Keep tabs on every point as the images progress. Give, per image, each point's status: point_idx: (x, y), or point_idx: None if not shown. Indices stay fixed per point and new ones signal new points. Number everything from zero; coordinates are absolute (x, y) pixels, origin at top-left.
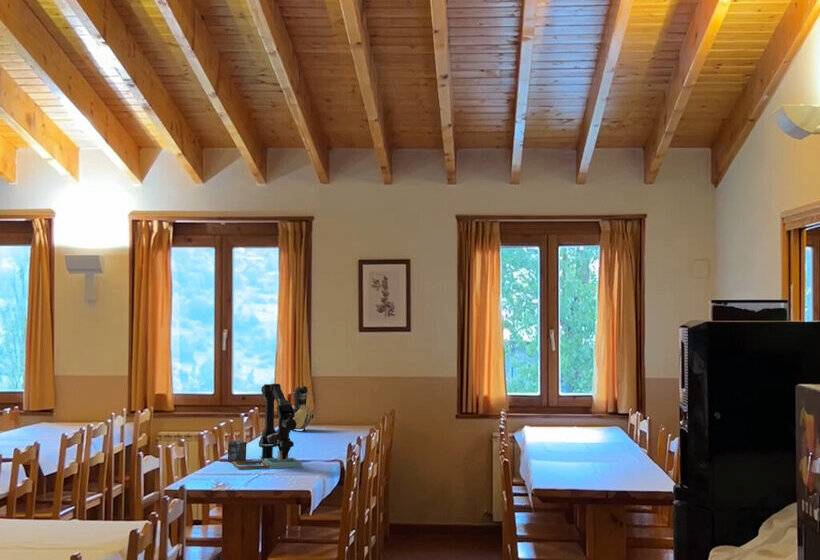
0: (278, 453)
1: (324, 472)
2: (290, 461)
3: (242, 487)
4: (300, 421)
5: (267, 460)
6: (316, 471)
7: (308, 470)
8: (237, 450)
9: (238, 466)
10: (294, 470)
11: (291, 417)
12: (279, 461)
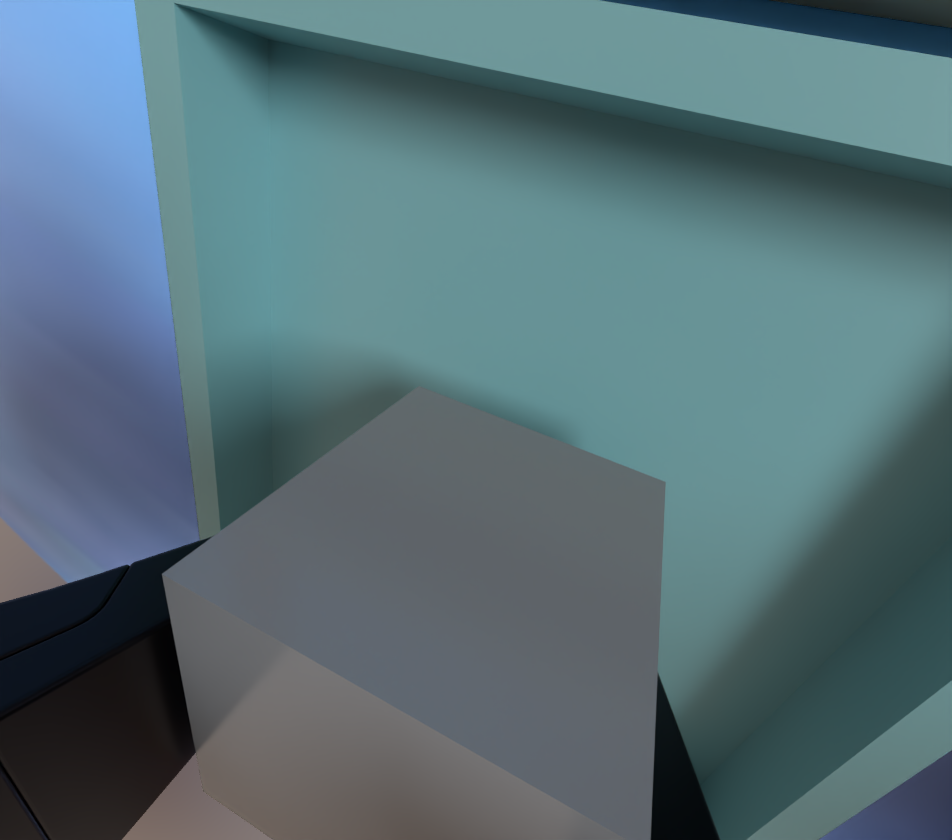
0: (470, 607)
1: (10, 518)
2: (714, 772)
3: None
4: None
5: (788, 51)
6: (43, 501)
7: (85, 479)
8: None
9: None
10: (73, 337)
11: None
12: (414, 390)
